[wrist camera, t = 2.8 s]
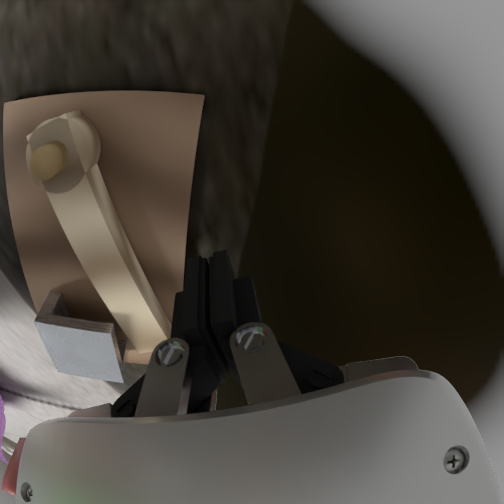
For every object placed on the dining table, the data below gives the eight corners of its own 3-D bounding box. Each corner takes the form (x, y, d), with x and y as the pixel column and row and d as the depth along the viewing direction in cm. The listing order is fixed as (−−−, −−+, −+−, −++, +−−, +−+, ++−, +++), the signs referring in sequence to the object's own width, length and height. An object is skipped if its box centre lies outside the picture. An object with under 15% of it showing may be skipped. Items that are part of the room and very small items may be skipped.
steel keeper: (128, 350, 23) (123, 382, 20) (67, 341, 22) (57, 371, 19) (120, 298, 20) (110, 333, 17) (50, 290, 19) (34, 321, 16)
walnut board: (180, 358, 26) (180, 366, 26) (55, 343, 23) (52, 350, 22) (204, 94, 15) (204, 95, 14) (11, 101, 11) (4, 102, 11)
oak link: (34, 131, 12) (4, 144, 9) (89, 101, 12) (63, 106, 10) (135, 336, 22) (130, 368, 19) (181, 327, 22) (181, 360, 20)
